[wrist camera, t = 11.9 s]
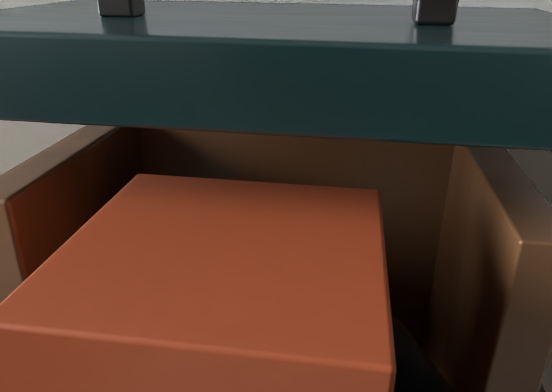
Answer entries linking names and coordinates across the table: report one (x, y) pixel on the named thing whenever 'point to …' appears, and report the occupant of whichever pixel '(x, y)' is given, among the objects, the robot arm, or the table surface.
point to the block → (209, 294)
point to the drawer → (310, 142)
